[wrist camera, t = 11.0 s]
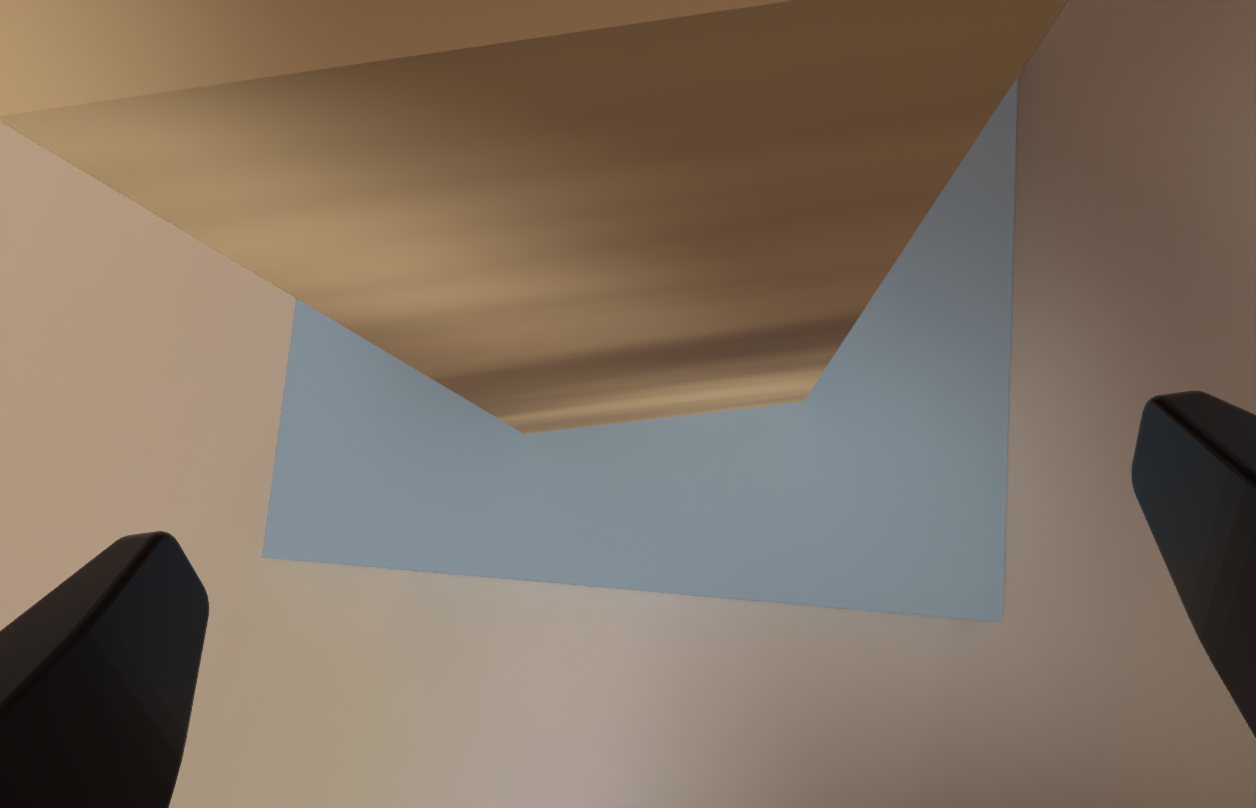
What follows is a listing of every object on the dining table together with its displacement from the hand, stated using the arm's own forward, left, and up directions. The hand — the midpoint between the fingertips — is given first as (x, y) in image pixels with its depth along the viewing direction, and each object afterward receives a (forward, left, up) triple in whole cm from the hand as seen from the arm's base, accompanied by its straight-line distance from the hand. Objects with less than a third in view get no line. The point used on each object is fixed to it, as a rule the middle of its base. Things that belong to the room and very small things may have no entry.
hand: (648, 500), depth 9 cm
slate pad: (+4, +1, -9) cm, 10 cm away
